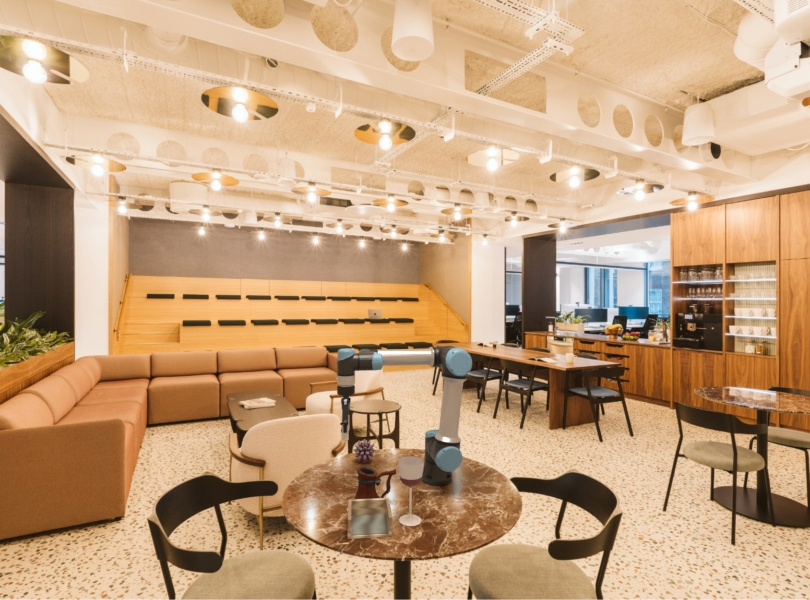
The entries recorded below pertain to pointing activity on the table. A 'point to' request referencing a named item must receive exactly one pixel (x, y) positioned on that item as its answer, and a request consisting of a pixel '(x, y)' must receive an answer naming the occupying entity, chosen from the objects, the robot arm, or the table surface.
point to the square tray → (369, 518)
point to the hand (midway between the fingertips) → (345, 434)
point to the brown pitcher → (371, 482)
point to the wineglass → (410, 483)
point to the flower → (364, 450)
